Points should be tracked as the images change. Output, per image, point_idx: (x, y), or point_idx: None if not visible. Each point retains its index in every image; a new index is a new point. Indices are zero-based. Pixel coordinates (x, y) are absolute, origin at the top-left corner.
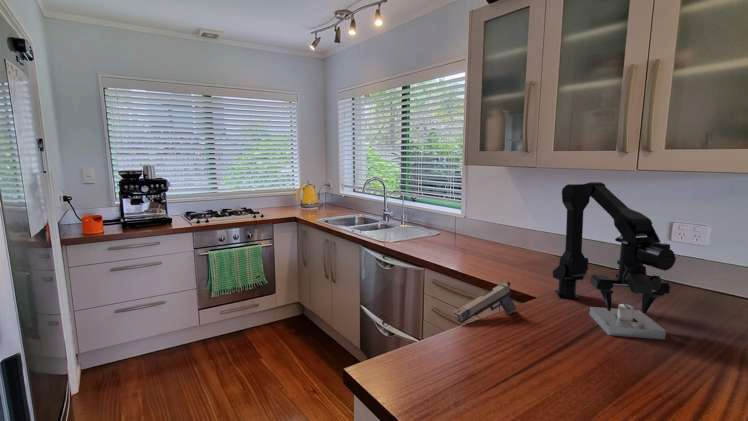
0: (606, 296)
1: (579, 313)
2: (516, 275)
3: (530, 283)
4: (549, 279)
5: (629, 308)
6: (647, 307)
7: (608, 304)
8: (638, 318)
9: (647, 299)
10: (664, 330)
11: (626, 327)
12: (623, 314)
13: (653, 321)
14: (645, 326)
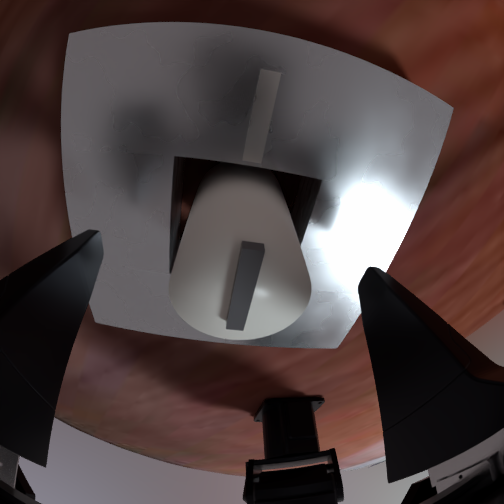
0: (486, 356)
1: (361, 320)
2: (321, 442)
3: (325, 430)
4: (261, 443)
5: (253, 246)
6: (51, 257)
7: (421, 303)
8: (142, 225)
9: (15, 333)
10: (75, 36)
11: (356, 66)
12: (288, 222)
13: (67, 186)
14: (171, 78)
